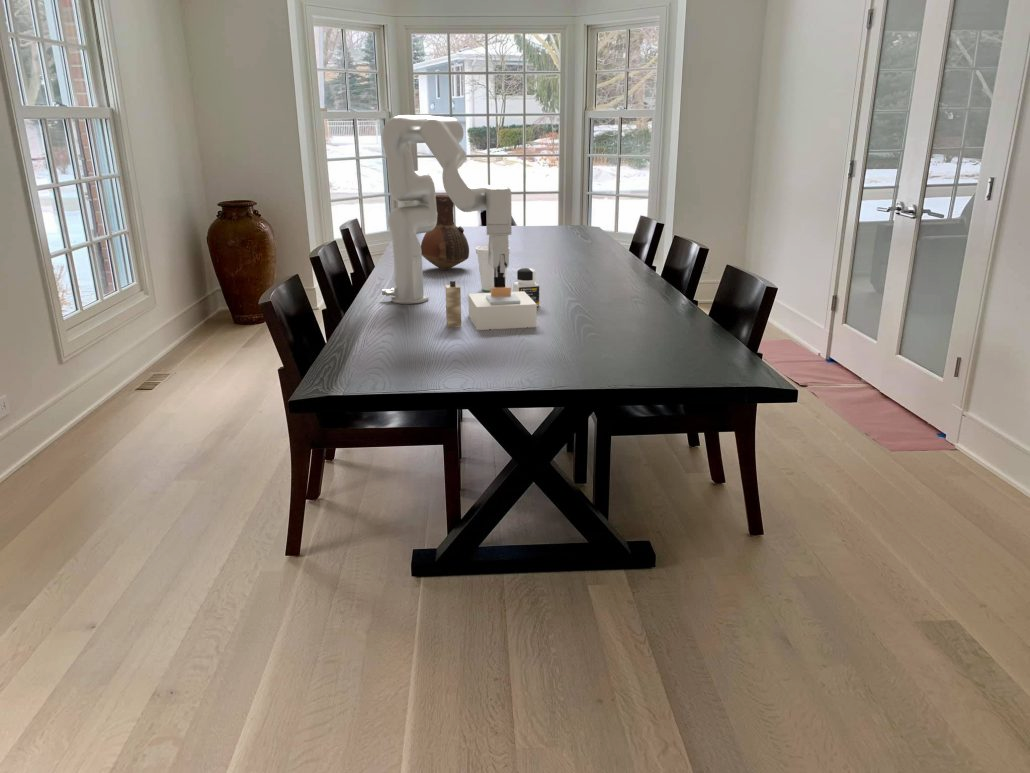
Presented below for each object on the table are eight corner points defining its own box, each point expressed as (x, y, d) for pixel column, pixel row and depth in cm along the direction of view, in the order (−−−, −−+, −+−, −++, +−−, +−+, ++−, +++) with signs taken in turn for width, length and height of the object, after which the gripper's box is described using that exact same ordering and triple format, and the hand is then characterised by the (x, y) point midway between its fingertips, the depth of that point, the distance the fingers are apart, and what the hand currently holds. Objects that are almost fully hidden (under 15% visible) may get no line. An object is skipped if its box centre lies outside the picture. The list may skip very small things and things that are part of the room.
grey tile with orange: (490, 304, 222) (490, 293, 221) (485, 297, 230) (485, 287, 229) (520, 303, 224) (520, 292, 223) (514, 296, 232) (514, 286, 231)
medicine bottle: (518, 307, 248) (518, 271, 244) (513, 302, 255) (513, 267, 251) (539, 306, 250) (539, 270, 246) (533, 301, 257) (533, 266, 253)
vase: (470, 275, 300) (468, 198, 290) (420, 275, 298) (416, 198, 288) (468, 263, 323) (467, 192, 313) (422, 264, 322) (419, 192, 311)
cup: (469, 291, 272) (469, 248, 267) (487, 284, 282) (486, 244, 277) (500, 294, 266) (499, 251, 261) (516, 288, 277) (516, 246, 272)
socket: (477, 330, 222) (476, 307, 220) (468, 315, 238) (468, 293, 236) (536, 327, 225) (536, 304, 223) (524, 312, 242) (524, 291, 239)
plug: (448, 327, 225) (446, 282, 220) (446, 323, 229) (445, 280, 224) (461, 326, 226) (460, 282, 221) (459, 323, 229) (458, 279, 225)
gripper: (482, 226, 232) (483, 285, 238) (490, 233, 218) (491, 295, 224) (506, 225, 233) (507, 284, 239) (516, 232, 220) (516, 294, 226)
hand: (499, 289), depth 232 cm, fingers closed
